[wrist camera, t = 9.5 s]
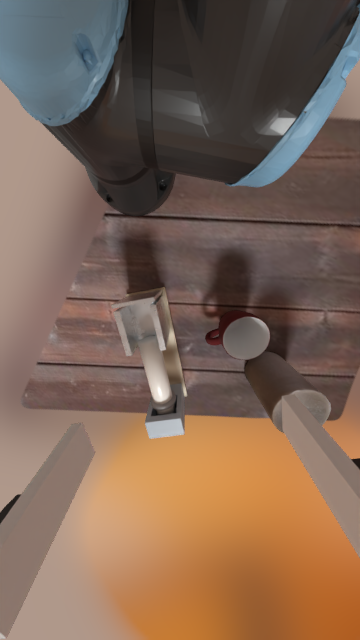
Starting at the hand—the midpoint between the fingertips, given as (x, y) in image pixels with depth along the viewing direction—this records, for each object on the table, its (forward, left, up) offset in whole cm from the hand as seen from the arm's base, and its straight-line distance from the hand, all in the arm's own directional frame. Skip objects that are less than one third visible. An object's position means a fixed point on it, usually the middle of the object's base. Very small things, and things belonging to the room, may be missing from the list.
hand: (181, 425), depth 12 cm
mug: (+4, +9, -29) cm, 31 cm away
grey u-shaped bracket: (-1, -7, -28) cm, 29 cm away
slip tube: (+11, -7, -24) cm, 27 cm away
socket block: (+19, -7, -28) cm, 34 cm away
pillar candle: (+17, +17, -29) cm, 38 cm away
